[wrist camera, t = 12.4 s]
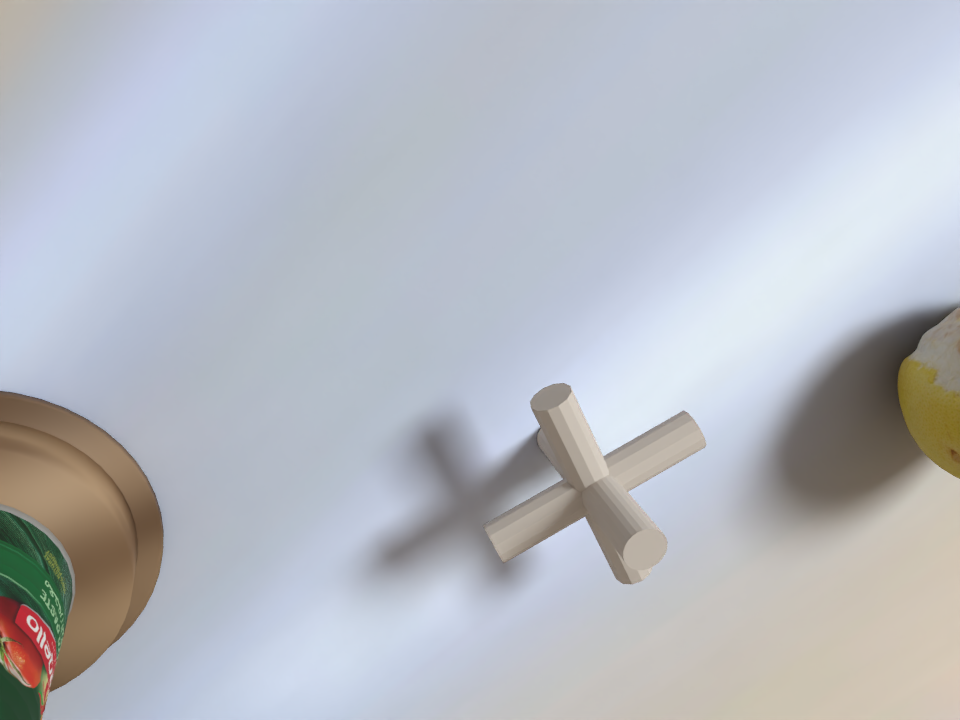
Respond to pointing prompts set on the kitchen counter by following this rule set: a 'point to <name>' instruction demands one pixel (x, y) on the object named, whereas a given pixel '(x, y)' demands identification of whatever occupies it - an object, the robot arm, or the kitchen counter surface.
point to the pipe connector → (595, 486)
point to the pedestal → (83, 519)
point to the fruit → (934, 393)
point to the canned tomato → (30, 612)
